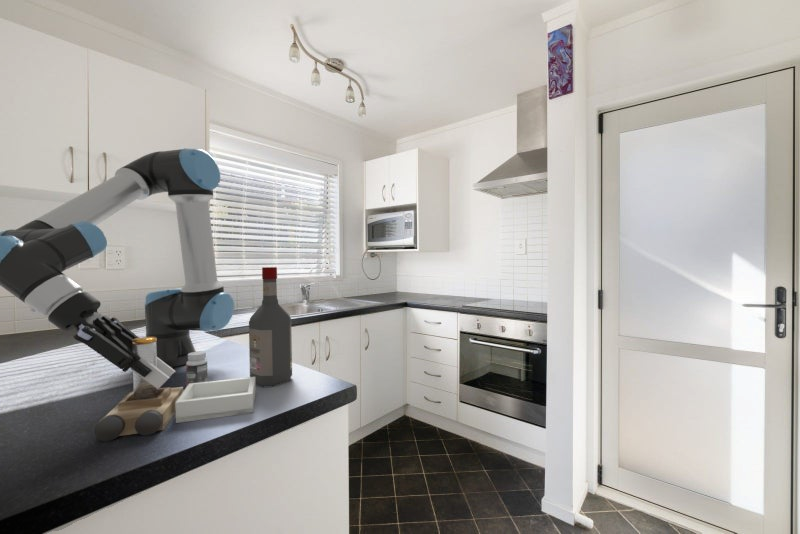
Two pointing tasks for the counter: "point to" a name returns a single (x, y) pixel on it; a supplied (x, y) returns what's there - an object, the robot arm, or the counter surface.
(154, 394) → the gold capped bottle
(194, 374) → the pill bottle
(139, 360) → the robot arm
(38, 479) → the counter surface
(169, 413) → the trolley block
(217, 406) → the tray
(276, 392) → the counter surface
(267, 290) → the liquor
